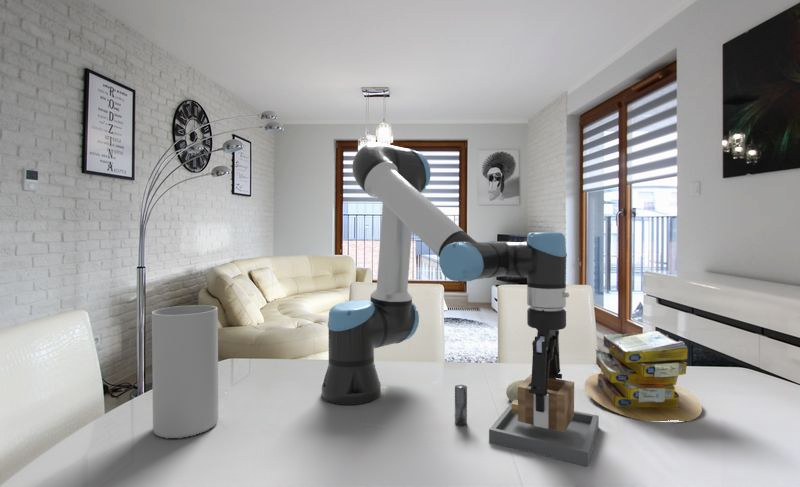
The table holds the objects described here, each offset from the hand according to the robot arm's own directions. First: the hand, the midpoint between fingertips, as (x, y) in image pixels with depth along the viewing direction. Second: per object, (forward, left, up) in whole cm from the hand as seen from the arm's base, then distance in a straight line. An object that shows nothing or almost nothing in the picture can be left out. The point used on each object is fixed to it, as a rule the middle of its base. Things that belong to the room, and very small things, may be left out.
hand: (546, 417), depth 88 cm
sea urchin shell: (-8, +16, -4) cm, 18 cm away
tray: (0, 0, -4) cm, 4 cm away
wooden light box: (-1, 0, 0) cm, 1 cm away
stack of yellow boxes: (+16, +30, -4) cm, 34 cm away
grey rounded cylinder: (-17, -4, -4) cm, 18 cm away
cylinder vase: (-67, -35, -4) cm, 76 cm away
